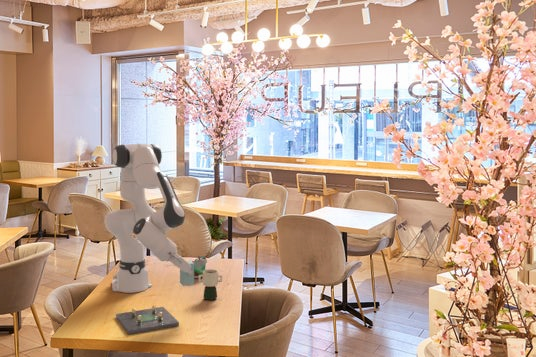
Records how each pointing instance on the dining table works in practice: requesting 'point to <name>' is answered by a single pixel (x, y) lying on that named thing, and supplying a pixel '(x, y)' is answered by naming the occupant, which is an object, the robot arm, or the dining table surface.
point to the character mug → (210, 283)
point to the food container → (199, 266)
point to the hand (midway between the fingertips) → (188, 271)
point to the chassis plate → (146, 320)
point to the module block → (187, 276)
